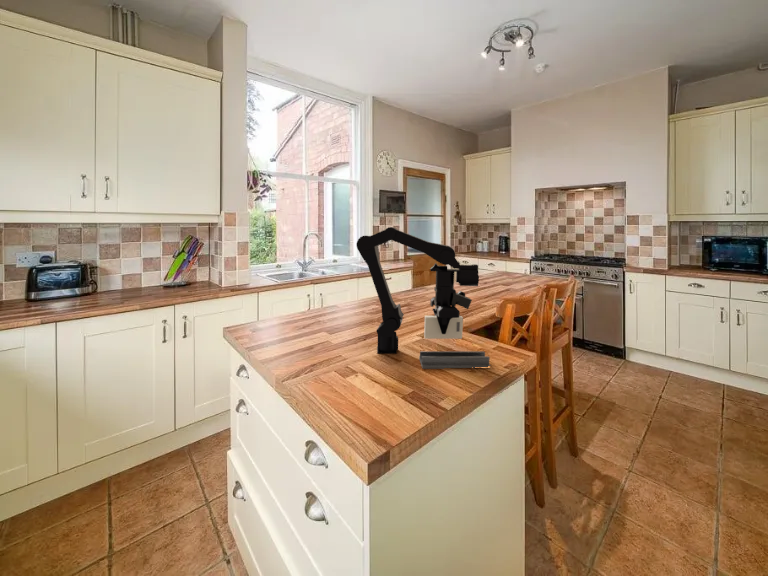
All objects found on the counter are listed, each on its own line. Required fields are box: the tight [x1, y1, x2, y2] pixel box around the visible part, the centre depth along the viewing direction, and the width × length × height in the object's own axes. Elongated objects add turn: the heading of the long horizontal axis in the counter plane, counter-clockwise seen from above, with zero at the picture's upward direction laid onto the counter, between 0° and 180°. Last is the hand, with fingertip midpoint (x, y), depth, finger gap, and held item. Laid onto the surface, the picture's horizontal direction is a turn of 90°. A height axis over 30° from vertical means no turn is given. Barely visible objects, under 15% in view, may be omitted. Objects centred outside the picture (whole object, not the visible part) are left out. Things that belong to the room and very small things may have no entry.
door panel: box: [423, 315, 464, 340], centre depth 115 cm, size 12×3×7 cm, turn 91°
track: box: [419, 350, 492, 370], centre depth 108 cm, size 20×8×3 cm, turn 91°
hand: (443, 332), depth 116 cm, fingers closed on door panel, 2 cm apart
